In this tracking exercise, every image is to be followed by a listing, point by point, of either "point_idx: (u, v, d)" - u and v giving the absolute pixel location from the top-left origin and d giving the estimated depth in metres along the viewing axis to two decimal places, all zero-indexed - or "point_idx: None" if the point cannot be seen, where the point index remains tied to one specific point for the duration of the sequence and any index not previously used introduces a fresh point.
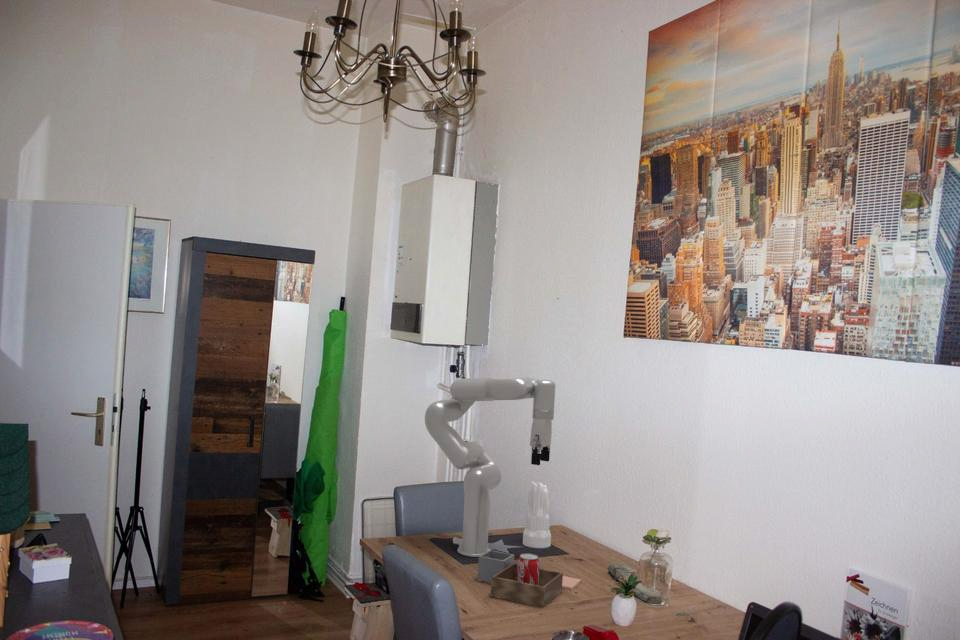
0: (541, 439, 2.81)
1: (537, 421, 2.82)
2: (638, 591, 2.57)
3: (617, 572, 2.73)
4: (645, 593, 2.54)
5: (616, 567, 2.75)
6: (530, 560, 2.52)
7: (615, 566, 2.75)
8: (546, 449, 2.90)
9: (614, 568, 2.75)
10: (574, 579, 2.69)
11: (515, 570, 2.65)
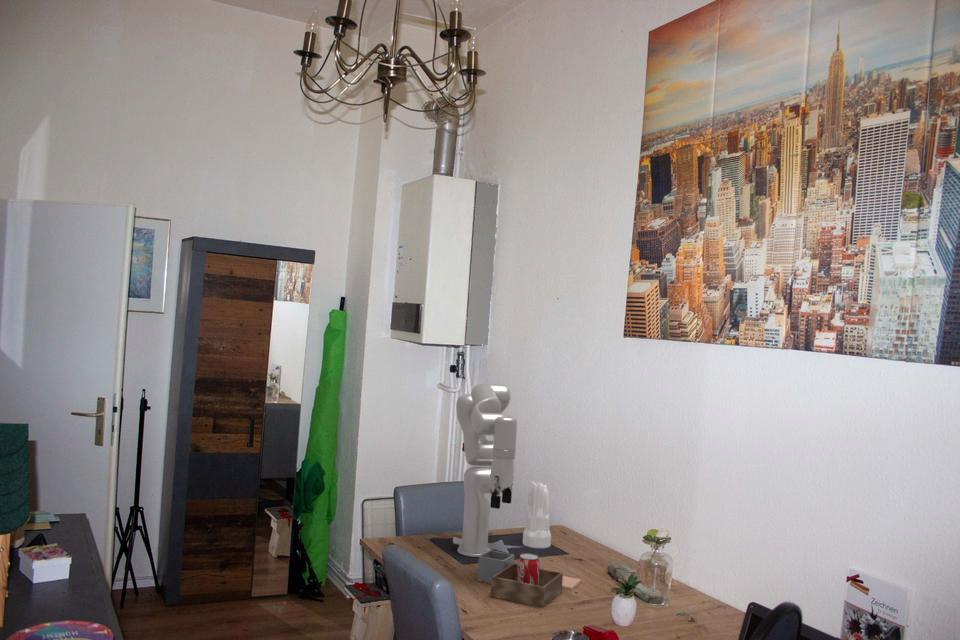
0: (501, 481, 2.62)
1: (497, 461, 2.63)
2: (639, 591, 2.57)
3: (617, 572, 2.73)
4: (646, 593, 2.54)
5: (616, 567, 2.74)
6: (530, 560, 2.52)
7: (615, 566, 2.75)
8: (508, 490, 2.71)
9: (614, 568, 2.75)
10: (574, 579, 2.69)
11: (515, 570, 2.65)
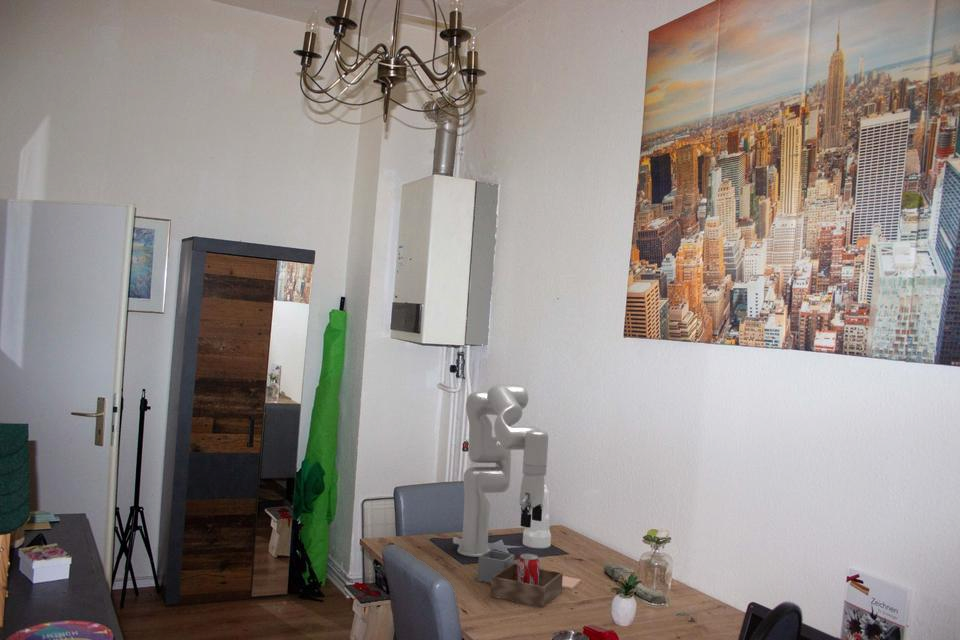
0: (532, 498, 2.49)
1: (527, 477, 2.51)
2: (641, 591, 2.57)
3: (616, 572, 2.73)
4: (649, 593, 2.55)
5: (614, 567, 2.74)
6: (530, 560, 2.52)
7: (613, 566, 2.74)
8: (538, 507, 2.59)
9: (612, 568, 2.74)
10: (574, 579, 2.69)
11: (515, 570, 2.65)
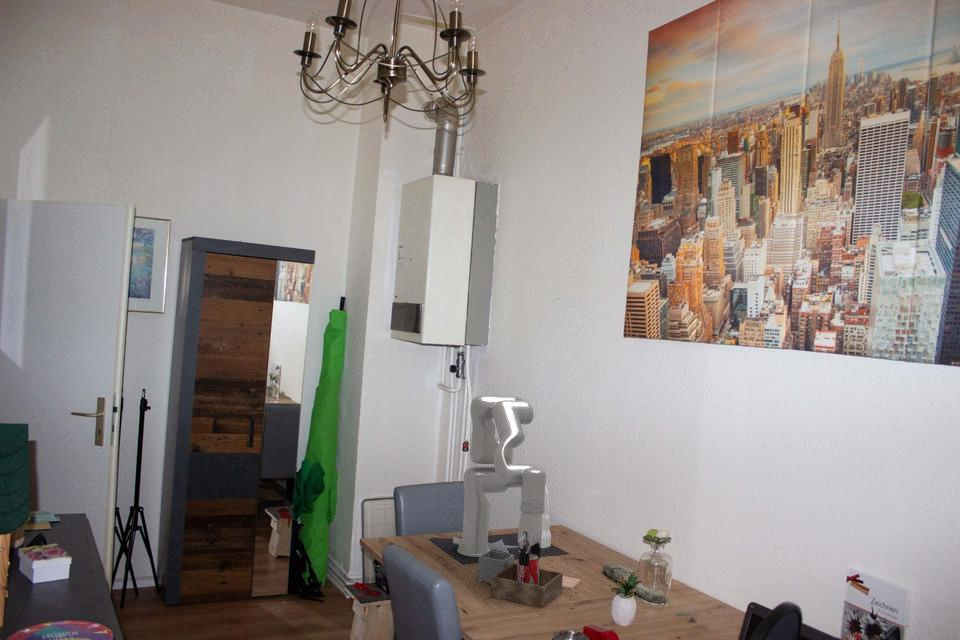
0: (530, 537, 2.49)
1: (525, 516, 2.50)
2: (642, 591, 2.57)
3: (615, 572, 2.73)
4: (650, 593, 2.55)
5: (613, 567, 2.74)
6: (530, 560, 2.52)
7: (612, 566, 2.74)
8: (536, 545, 2.58)
9: (611, 568, 2.74)
10: (574, 579, 2.69)
11: (515, 570, 2.65)
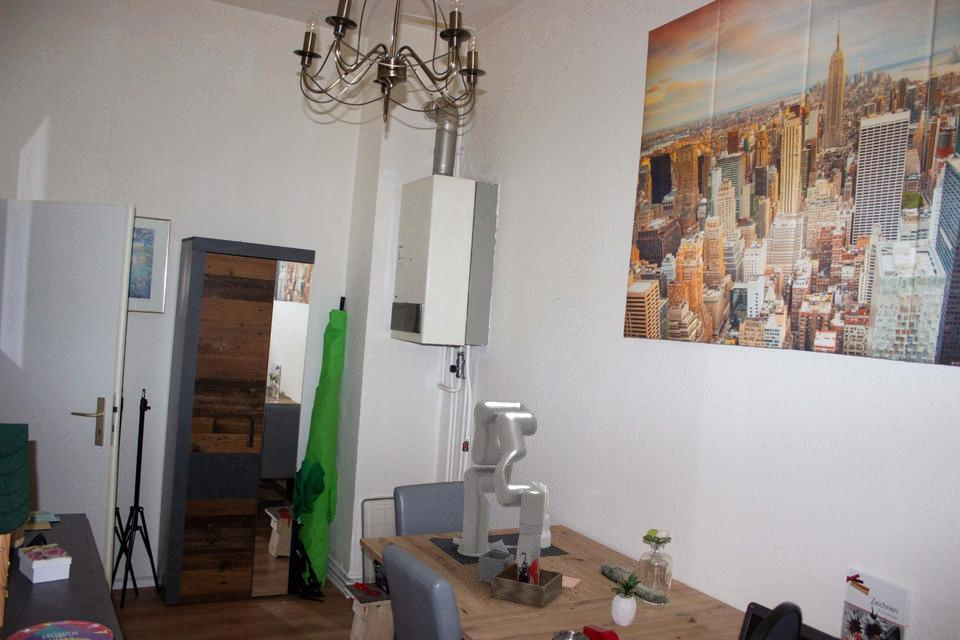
0: (528, 558, 2.49)
1: (524, 537, 2.51)
2: (643, 591, 2.57)
3: (614, 572, 2.72)
4: (651, 593, 2.55)
5: (613, 567, 2.74)
6: None
7: (611, 566, 2.74)
8: None
9: (611, 568, 2.74)
10: (574, 579, 2.69)
11: (515, 570, 2.65)
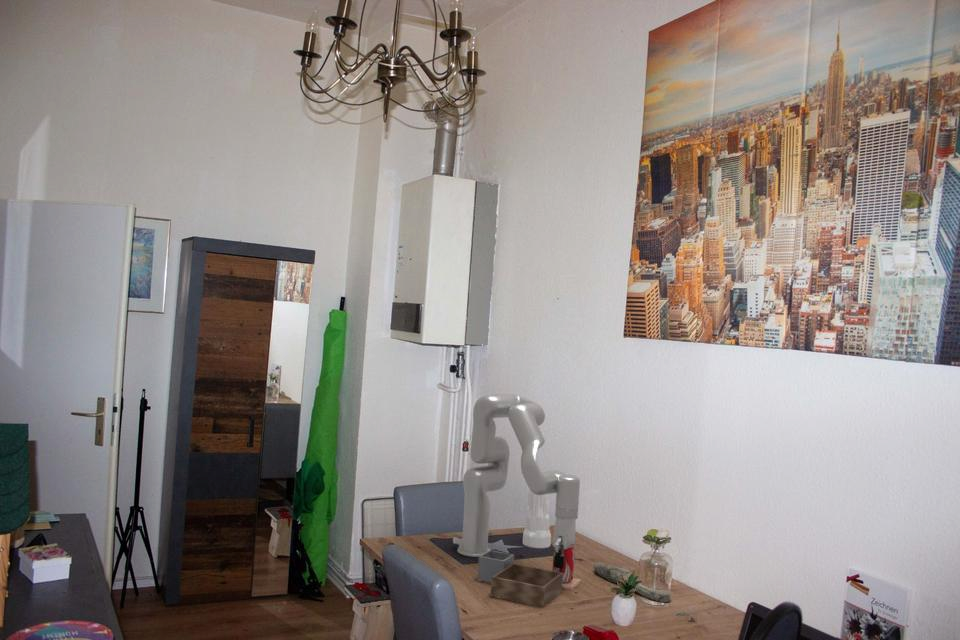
0: (565, 541, 2.62)
1: (560, 521, 2.63)
2: (647, 591, 2.58)
3: (612, 573, 2.71)
4: (656, 592, 2.55)
5: (609, 568, 2.73)
6: None
7: (608, 567, 2.73)
8: None
9: (607, 569, 2.72)
10: (574, 579, 2.69)
11: (515, 570, 2.65)
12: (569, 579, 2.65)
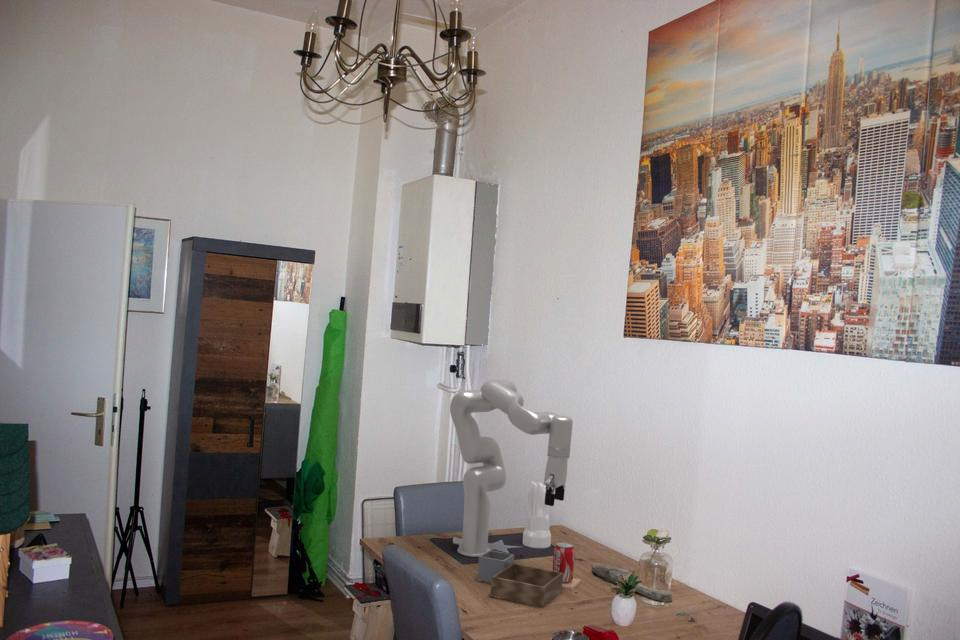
0: (556, 479, 2.67)
1: (552, 459, 2.68)
2: (648, 591, 2.58)
3: (611, 574, 2.71)
4: (658, 592, 2.56)
5: (609, 569, 2.72)
6: (566, 548, 2.65)
7: (607, 568, 2.72)
8: (561, 488, 2.76)
9: (607, 570, 2.72)
10: (574, 579, 2.69)
11: (515, 570, 2.65)
12: (569, 579, 2.65)
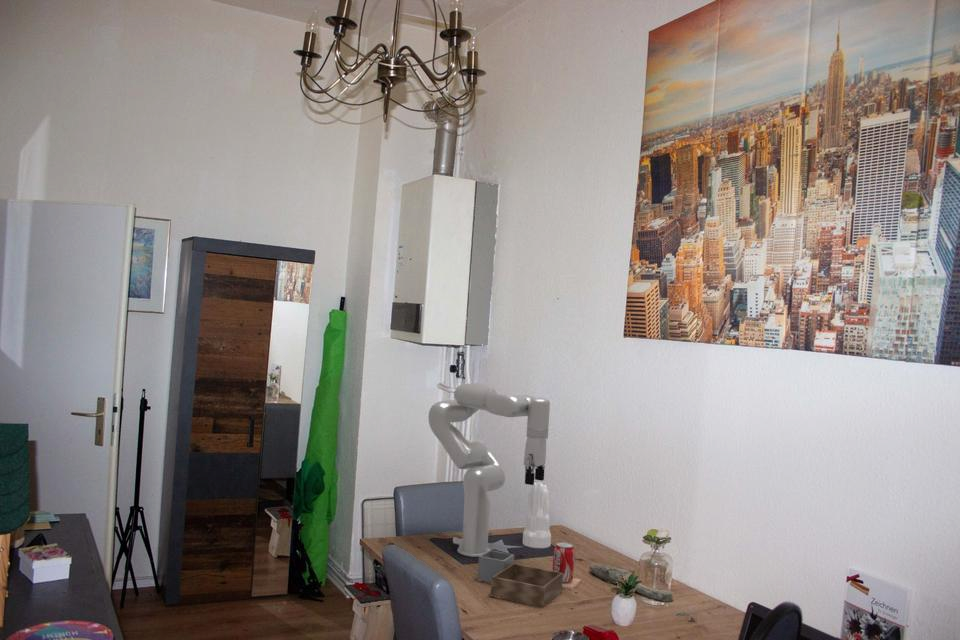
0: (535, 458, 2.76)
1: (531, 440, 2.77)
2: (649, 591, 2.58)
3: (611, 574, 2.71)
4: (659, 592, 2.56)
5: (608, 569, 2.72)
6: (566, 548, 2.65)
7: (607, 568, 2.72)
8: (540, 468, 2.85)
9: (606, 570, 2.72)
10: (574, 579, 2.69)
11: (515, 570, 2.65)
12: (569, 579, 2.65)
